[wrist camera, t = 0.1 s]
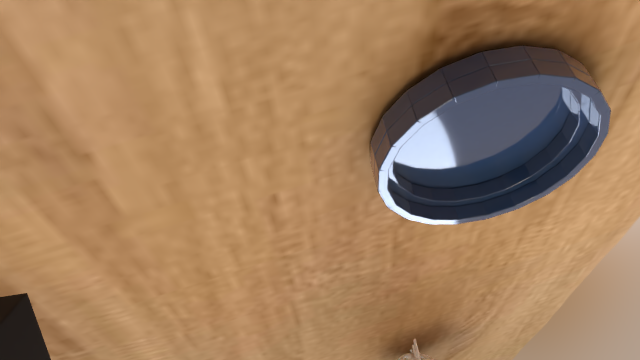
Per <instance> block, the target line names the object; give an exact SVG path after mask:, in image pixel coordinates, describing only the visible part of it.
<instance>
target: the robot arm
mask: <svg viewBox="0 0 640 360" xmlns="http://www.w3.org/2000/svg"><path fill="white" fill-rule="evenodd" d="M0 360H51V359H50V356H49V353H48V350H47V348H46V345H45V342H44V339H43V336H42V334H41V331H40V328H39V325H38V322H37V320H36V317H35V314H34V311H33V309H32V306H31V303H30V300H29V297H28V295H27V293H25V294H18V295H11V296H5V297H0Z"/></svg>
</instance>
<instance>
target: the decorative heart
mask: <svg viewBox="0 0 640 360" xmlns="http://www.w3.org/2000/svg"><path fill="white" fill-rule="evenodd" d="M413 341H414V345H415V347H414V345H412V349H413V352H412V349H410V352H411V353H406V354H403V355H402V356H401V357H400V358H399V359H398V360H422V359H421V358H420V357H422V358H423V359H425V360H434V359H433V358H431V357H429V356H427V355H425V354H423V353H420V352H419V350H418V346H417V342H416V339H414V340H413ZM415 349H416V351H415ZM404 358H406V359H404Z"/></svg>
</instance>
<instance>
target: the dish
mask: <svg viewBox="0 0 640 360" xmlns="http://www.w3.org/2000/svg"><path fill="white" fill-rule="evenodd" d="M610 113H611V110H610V107H609V105H608V103H607V101H606V100H605V98H604V96H603V94H602V92H601V90H600V89H599V87H598V86H597V85H596V83H595V82H594V80H593V79H592V77H591V76H590V74H589V73H588V71H587V70H586V68H585V67H584V65H583V64H582V63H581V62H579V61H577V60H576V59H574V58H572V57H570V56H568V55H567V54H565V53H563V52H561V51H559V50H556V49H549V48H541V47H532V46H514V47H508V48H502V49H495V50H489V51H483V52H482V53H481V52H479V53H477V54H474V55H472V56H469V57H467V58H464V59H462V60H459V61H457V62H454V63H452V64H449V65H447V66H444V67H442V68H440V69H438V70H437V71H435V72H434V73H432V74H431V75H429V76H428V77H426V78H425V79H423V80H422V81H420V82H419V83H417V84H416V85H414V86H413V87H411V88H410V89H408V90H407V91H405V93H404V94H403V95H402V96H401V97H400V98H399V99H398V100H397V101H396V102H395V103H394V104H393V106H392V107H391V108H390V109H389V110H388V111H387V112H386V113H385V114H384V115H383V117H382V119H381V121H380V123H379V125H378V127H377V129H376V131H375V134H374V136H373V138H372V140H371V167H372V170H373V174H374V178H375V182H376V186H377V190H378V192H379V194H380V196H381V198H382V199H383V201H384V203H385V204H386V206H387V208H389V209H391V210H392V211H394V212H395V213H397V214H399V215H400V216H402V217H403V218H405V219H408V220H413V221H417V222H421V223H426V224H461V223H467V222H473V221H479V220H485V219H489V218H492V217H495V216H498V215H501V214H504V213H507V212H510V211H514V210H516V209H519V208H521V207H523V206H525V205H527V204H529V203H531V202H533V201H536V200H538V199H540V198H542V197H544V196H546V195H548V194H549V193H551V192H552V191H553V190H555V189H556V188H558V187H559V186H561V185H562V184H564V183H565V182H567V181H568V180H570V179H571V178H573V177H574V176H575V175H576V174H577V173H578V172H579V171H580V170H581V169H582V168H583V167H584V166H585V165H586V164H587V163H588V162H589V161H590V160H591V159H592V158H593V157H594V156H595V155H596V153H597V151H598V150H599V148H600V146H601V145H602V143H603V141H604V139H605V138H606V136H607V134H608V131H609V122H610Z"/></svg>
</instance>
